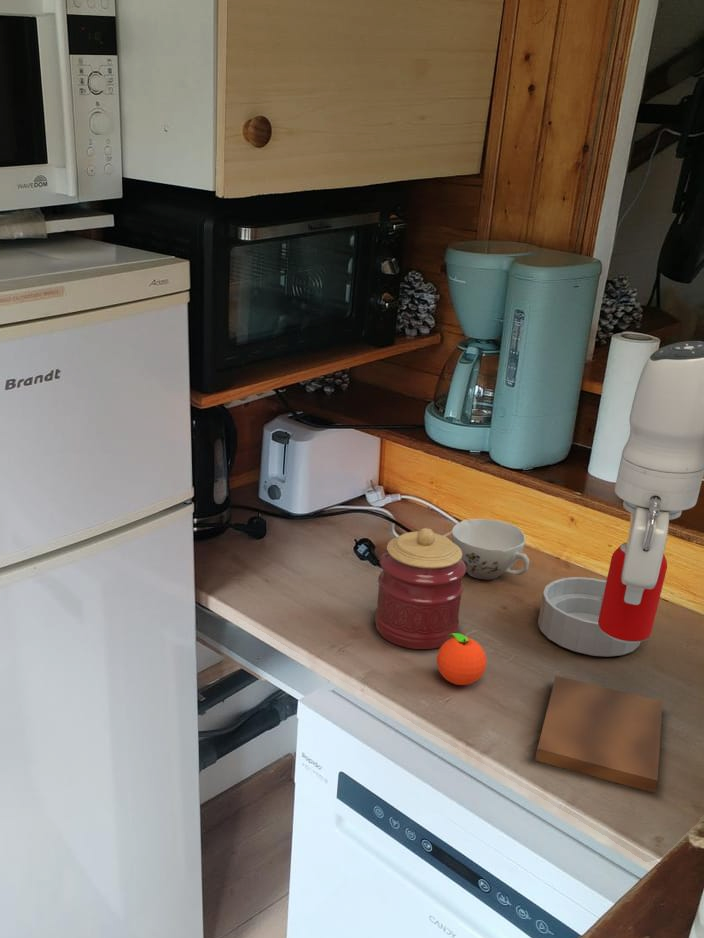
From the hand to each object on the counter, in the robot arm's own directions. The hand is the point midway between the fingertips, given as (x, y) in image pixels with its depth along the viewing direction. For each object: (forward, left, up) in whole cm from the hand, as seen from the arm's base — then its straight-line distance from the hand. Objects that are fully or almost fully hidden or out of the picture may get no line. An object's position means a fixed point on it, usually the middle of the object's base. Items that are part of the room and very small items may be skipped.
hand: (633, 588), depth 111 cm
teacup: (+22, -39, -22) cm, 50 cm away
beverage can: (0, 0, -7) cm, 7 cm away
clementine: (+20, -4, -22) cm, 30 cm away
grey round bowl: (+4, -26, -22) cm, 35 cm away
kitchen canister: (+29, -15, -22) cm, 40 cm away
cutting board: (0, +1, -22) cm, 22 cm away
